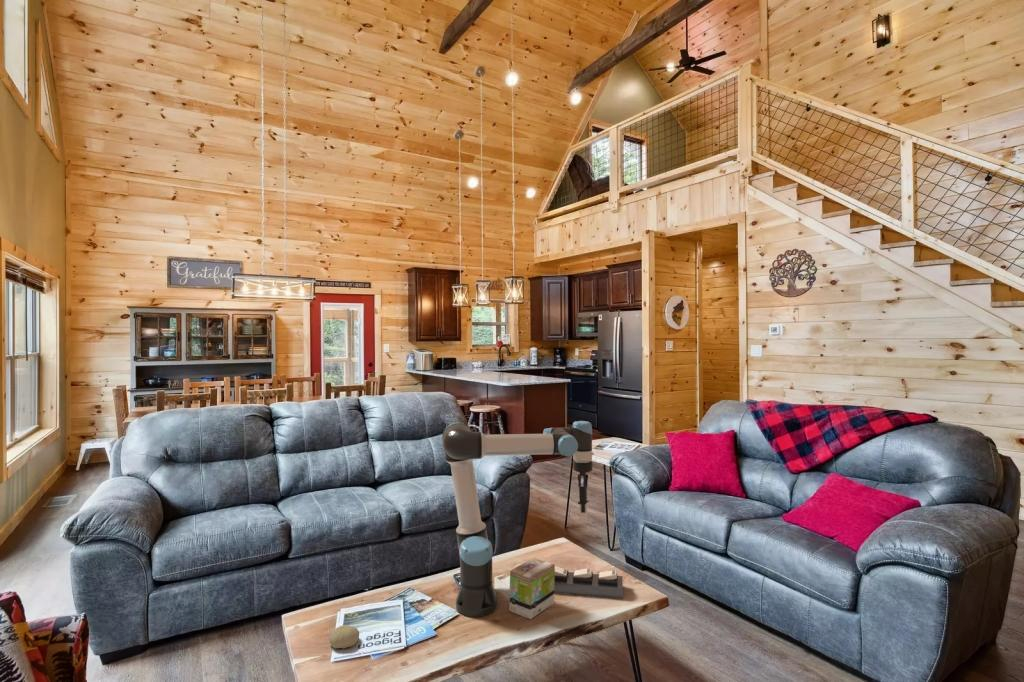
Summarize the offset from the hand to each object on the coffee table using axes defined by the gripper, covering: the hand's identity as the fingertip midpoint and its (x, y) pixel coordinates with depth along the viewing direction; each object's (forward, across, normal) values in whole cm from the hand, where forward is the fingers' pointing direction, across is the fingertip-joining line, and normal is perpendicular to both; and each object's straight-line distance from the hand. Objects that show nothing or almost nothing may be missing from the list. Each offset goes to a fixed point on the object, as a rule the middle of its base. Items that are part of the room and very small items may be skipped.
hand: (583, 519), depth 216 cm
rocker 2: (+19, -7, 0) cm, 20 cm away
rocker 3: (+19, -7, -10) cm, 22 cm away
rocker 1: (+19, -7, +10) cm, 22 cm away
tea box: (+25, -24, +17) cm, 38 cm away
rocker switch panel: (+25, -7, 0) cm, 26 cm away
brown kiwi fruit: (+25, -57, +73) cm, 96 cm away
